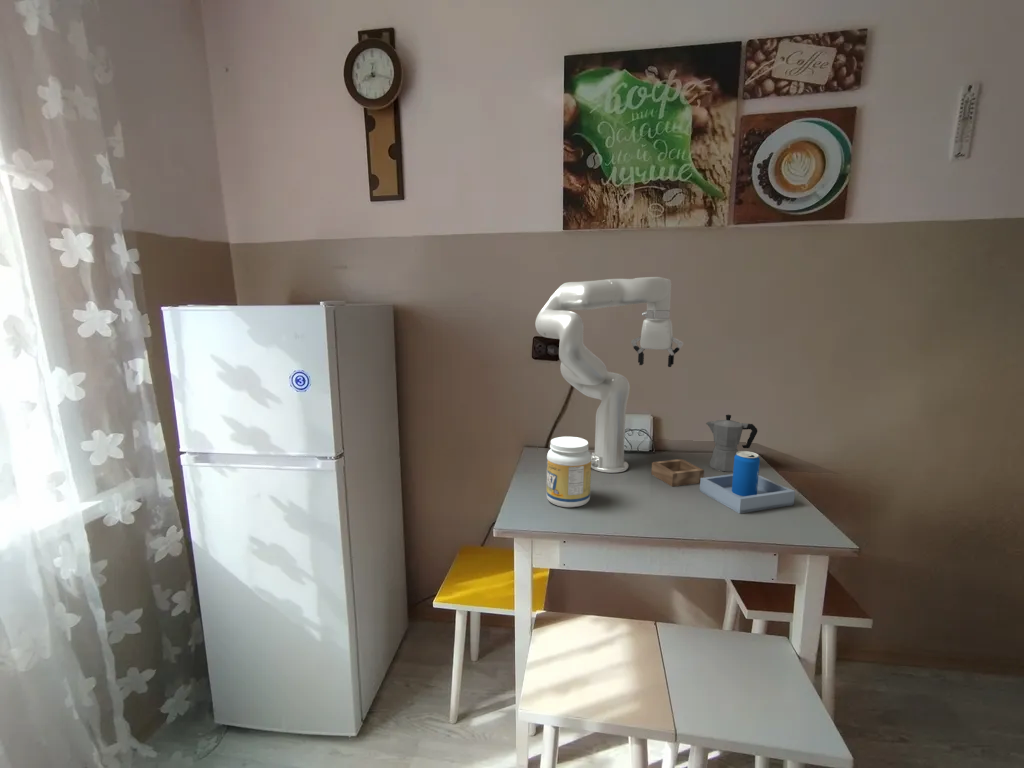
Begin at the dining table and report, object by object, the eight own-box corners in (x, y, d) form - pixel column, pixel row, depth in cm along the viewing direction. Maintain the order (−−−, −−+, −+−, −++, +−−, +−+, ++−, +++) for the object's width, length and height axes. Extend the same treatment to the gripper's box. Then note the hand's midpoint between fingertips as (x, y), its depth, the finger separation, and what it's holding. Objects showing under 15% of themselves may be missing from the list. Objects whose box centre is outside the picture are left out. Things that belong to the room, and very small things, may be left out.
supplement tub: (539, 495, 144) (539, 437, 141) (577, 489, 149) (578, 433, 146) (558, 511, 133) (559, 450, 130) (598, 504, 137) (600, 445, 134)
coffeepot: (702, 469, 165) (706, 415, 162) (703, 460, 174) (707, 409, 171) (754, 475, 159) (759, 420, 156) (753, 466, 168) (757, 414, 165)
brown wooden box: (672, 486, 150) (672, 473, 150) (651, 474, 161) (651, 462, 160) (703, 482, 154) (703, 470, 153) (680, 470, 164) (681, 458, 163)
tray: (739, 513, 132) (740, 499, 131) (699, 491, 147) (700, 478, 146) (793, 505, 137) (795, 491, 136) (749, 484, 152) (750, 471, 151)
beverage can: (752, 501, 137) (756, 459, 135) (728, 495, 142) (731, 454, 139) (759, 494, 142) (763, 453, 140) (735, 488, 146) (738, 449, 144)
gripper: (629, 315, 171) (627, 365, 174) (682, 316, 163) (679, 368, 166) (635, 314, 178) (633, 362, 181) (686, 315, 170) (683, 366, 173)
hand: (655, 365), depth 174 cm, fingers open, 9 cm apart
